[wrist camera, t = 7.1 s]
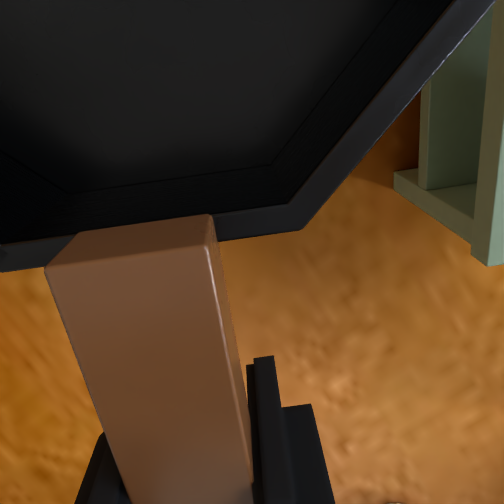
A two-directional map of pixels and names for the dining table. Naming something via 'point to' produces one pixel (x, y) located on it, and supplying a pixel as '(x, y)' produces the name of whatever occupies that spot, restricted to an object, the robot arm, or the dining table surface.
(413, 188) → the sage green box
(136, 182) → the pan
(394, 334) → the dining table surface
